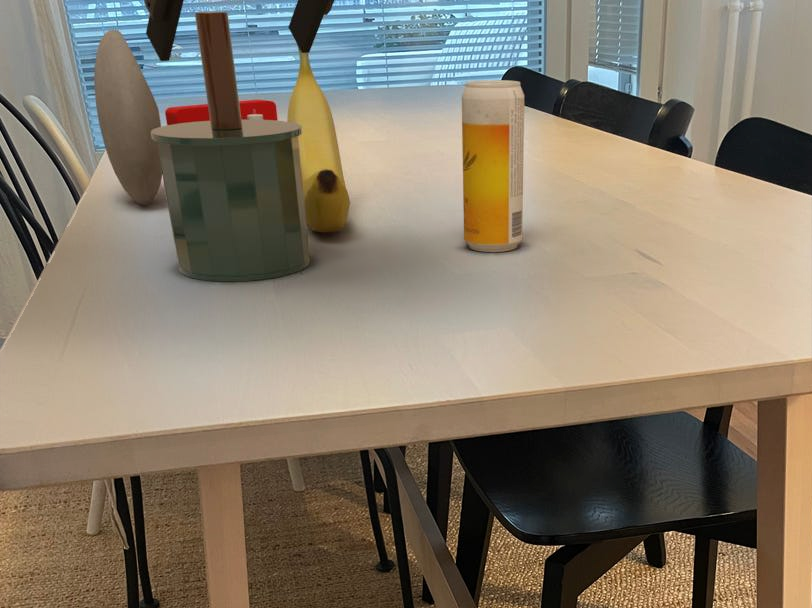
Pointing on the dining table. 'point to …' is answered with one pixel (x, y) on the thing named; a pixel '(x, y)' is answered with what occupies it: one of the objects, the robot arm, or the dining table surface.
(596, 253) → the dining table surface
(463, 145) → the beer can
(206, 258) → the storage jar
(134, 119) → the grey-brown flattened oval
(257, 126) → the jar lid
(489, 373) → the dining table surface
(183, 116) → the play button
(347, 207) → the banana
